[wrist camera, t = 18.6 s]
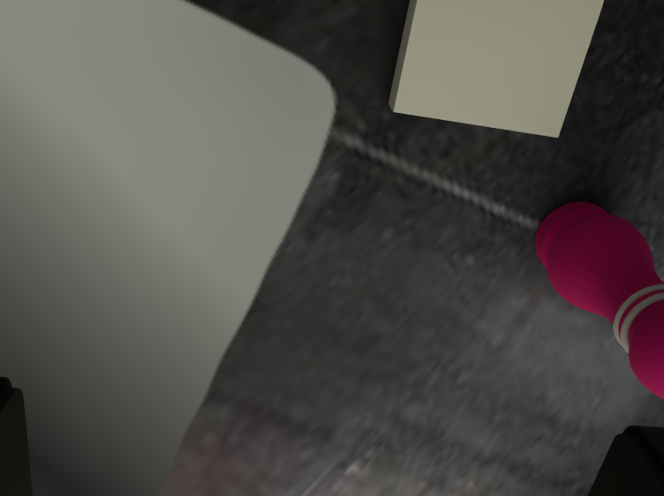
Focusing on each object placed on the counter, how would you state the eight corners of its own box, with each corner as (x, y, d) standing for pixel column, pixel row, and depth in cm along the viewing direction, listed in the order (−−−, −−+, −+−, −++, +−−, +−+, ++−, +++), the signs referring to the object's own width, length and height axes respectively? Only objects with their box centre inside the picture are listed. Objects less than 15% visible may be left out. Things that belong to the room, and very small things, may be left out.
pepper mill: (616, 266, 51) (793, 438, 33) (530, 283, 51) (659, 463, 33) (616, 186, 47) (813, 329, 30) (525, 205, 48) (665, 357, 30)
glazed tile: (387, 102, 44) (426, -83, 39) (543, 127, 45) (600, -49, 40) (393, 111, 41) (435, -86, 36) (557, 137, 43) (620, -49, 38)
